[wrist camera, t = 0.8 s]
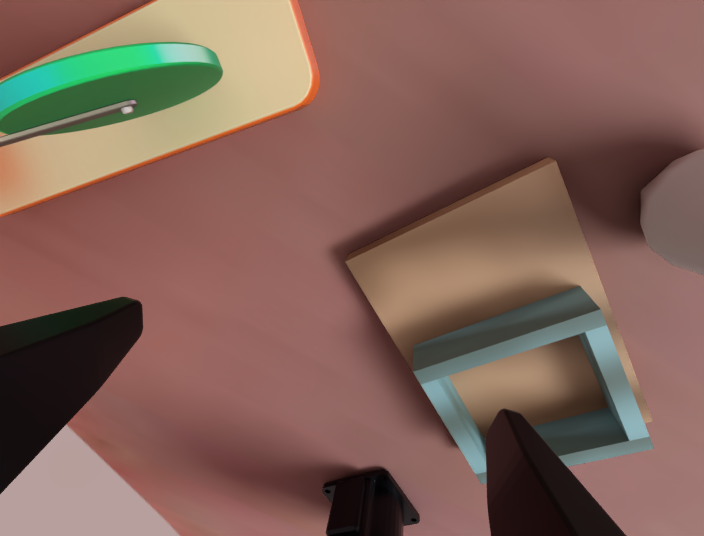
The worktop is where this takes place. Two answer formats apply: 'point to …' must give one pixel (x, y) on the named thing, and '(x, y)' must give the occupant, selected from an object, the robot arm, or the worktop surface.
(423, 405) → the worktop surface
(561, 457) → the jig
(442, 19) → the worktop surface
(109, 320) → the robot arm
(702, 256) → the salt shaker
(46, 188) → the crank mechanism
